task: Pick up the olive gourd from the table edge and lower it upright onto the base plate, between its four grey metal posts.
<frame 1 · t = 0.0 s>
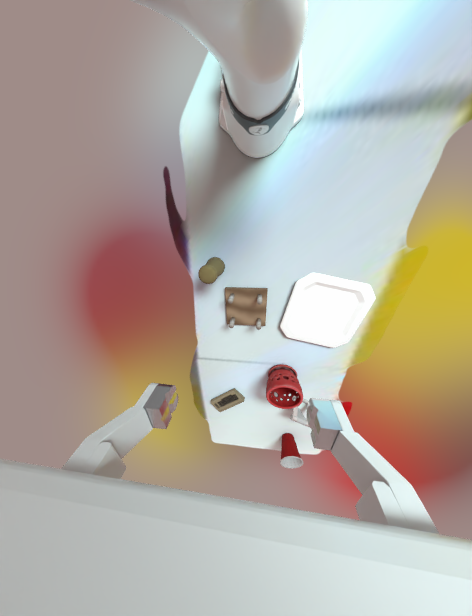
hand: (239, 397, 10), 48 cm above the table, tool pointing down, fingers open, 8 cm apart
plate: (322, 310, 59), on the table
standoff base: (246, 306, 61), on the table
portable electronic device stand: (299, 402, 80), on the table
olive gourd: (215, 266, 56), on the table
plant pot: (281, 372, 73), on the table
computer: (227, 397, 86), on the table
plastic cup: (288, 435, 93), on the table
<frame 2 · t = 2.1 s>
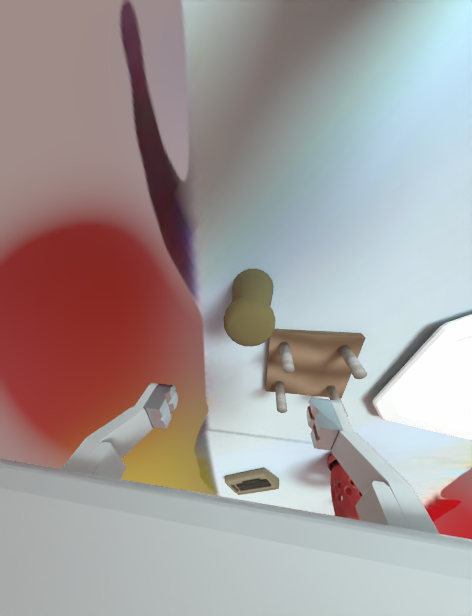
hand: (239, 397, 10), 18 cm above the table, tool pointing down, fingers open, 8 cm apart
plate: (467, 376, 29), on the table
standoff base: (307, 363, 31), on the table
olive gourd: (252, 288, 26), on the table
plant pot: (348, 457, 44), on the table
computer: (251, 474, 56), on the table
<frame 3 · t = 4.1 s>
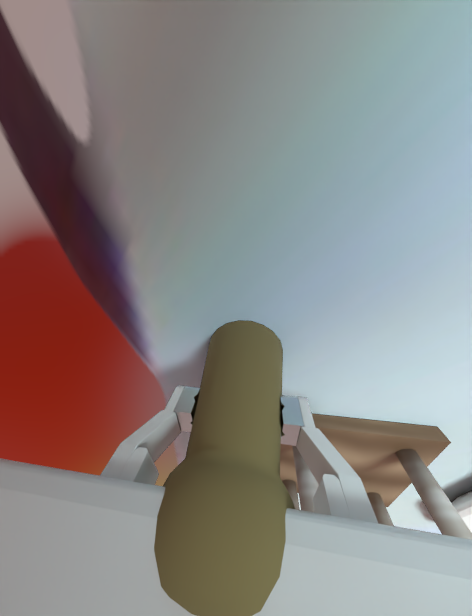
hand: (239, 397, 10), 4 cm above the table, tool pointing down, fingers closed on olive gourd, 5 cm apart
standoff base: (334, 456, 19), on the table
olive gourd: (245, 350, 14), on the table, touching gripper
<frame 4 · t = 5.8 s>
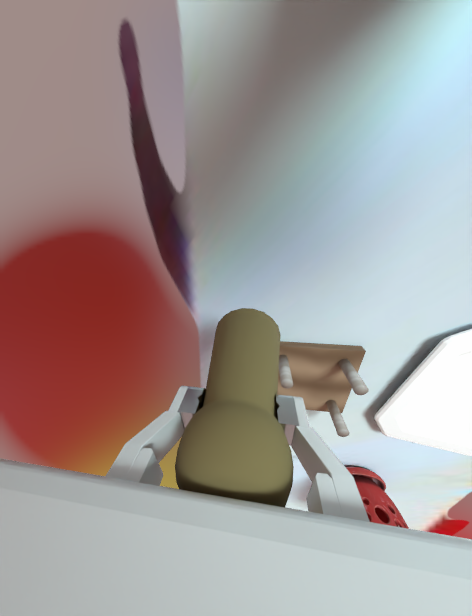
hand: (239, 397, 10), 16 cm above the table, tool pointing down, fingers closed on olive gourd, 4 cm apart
plate: (471, 391, 28), on the table
standoff base: (306, 376, 30), on the table
olive gourd: (247, 335, 16), point 10 cm above the table, touching gripper
plant pot: (350, 474, 42), on the table
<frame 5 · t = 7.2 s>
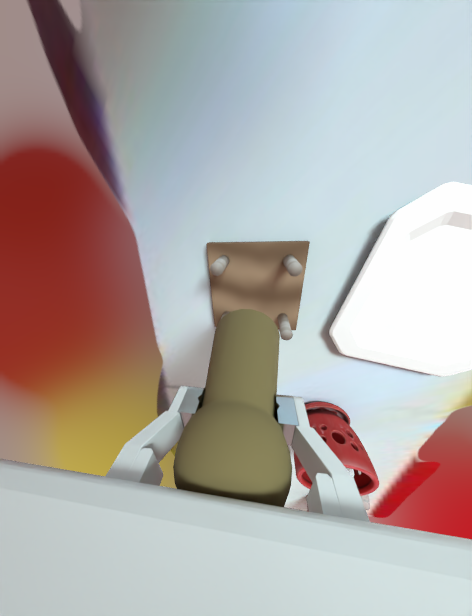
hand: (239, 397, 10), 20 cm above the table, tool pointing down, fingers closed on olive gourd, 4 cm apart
plate: (431, 296, 26), on the table
standoff base: (255, 287, 28), on the table
olive gourd: (246, 336, 16), point 13 cm above the table, touching gripper
plant pot: (316, 413, 40), on the table
when the fingers open (7 cm above the table, at t = 10.0 s): olive gourd stays where it is, resting on standoff base.
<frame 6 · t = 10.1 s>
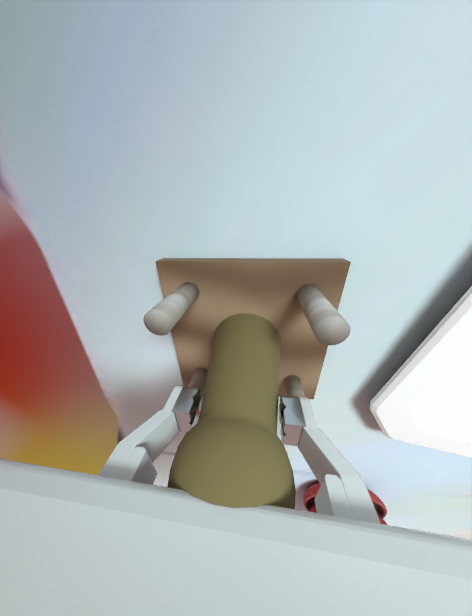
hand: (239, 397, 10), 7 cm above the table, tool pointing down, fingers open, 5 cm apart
standoff base: (246, 332, 17), on the table
olive gourd: (246, 341, 16), point 1 cm above the table, touching standoff base
plant pot: (335, 490, 29), on the table
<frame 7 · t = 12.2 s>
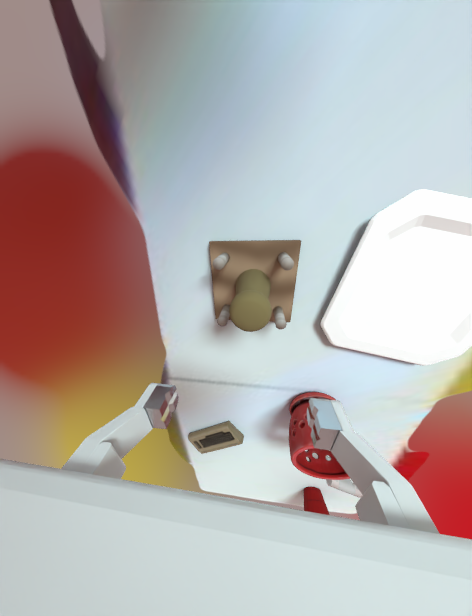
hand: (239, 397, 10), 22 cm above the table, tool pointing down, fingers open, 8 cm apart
plate: (411, 290, 28), on the table
standoff base: (253, 282, 30), on the table
portable electronic device stand: (336, 448, 49), on the table
olive gourd: (253, 286, 30), point 1 cm above the table, touching standoff base
plant pot: (311, 404, 43), on the table
computer: (216, 431, 54), on the table
plastic cup: (312, 489, 62), on the table
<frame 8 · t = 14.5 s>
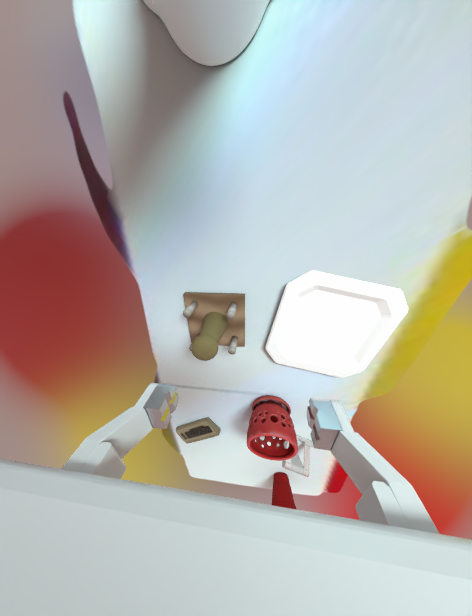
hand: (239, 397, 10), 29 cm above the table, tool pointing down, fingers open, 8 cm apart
plate: (325, 326, 40), on the table
standoff base: (216, 319, 43), on the table
portable electronic device stand: (294, 439, 62), on the table
olive gourd: (216, 322, 42), point 1 cm above the table, touching standoff base
plant pot: (269, 404, 55), on the table
computer: (199, 425, 66), on the table
plastic cup: (281, 474, 75), on the table
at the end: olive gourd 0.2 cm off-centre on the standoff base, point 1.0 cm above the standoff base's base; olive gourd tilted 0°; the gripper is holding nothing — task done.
